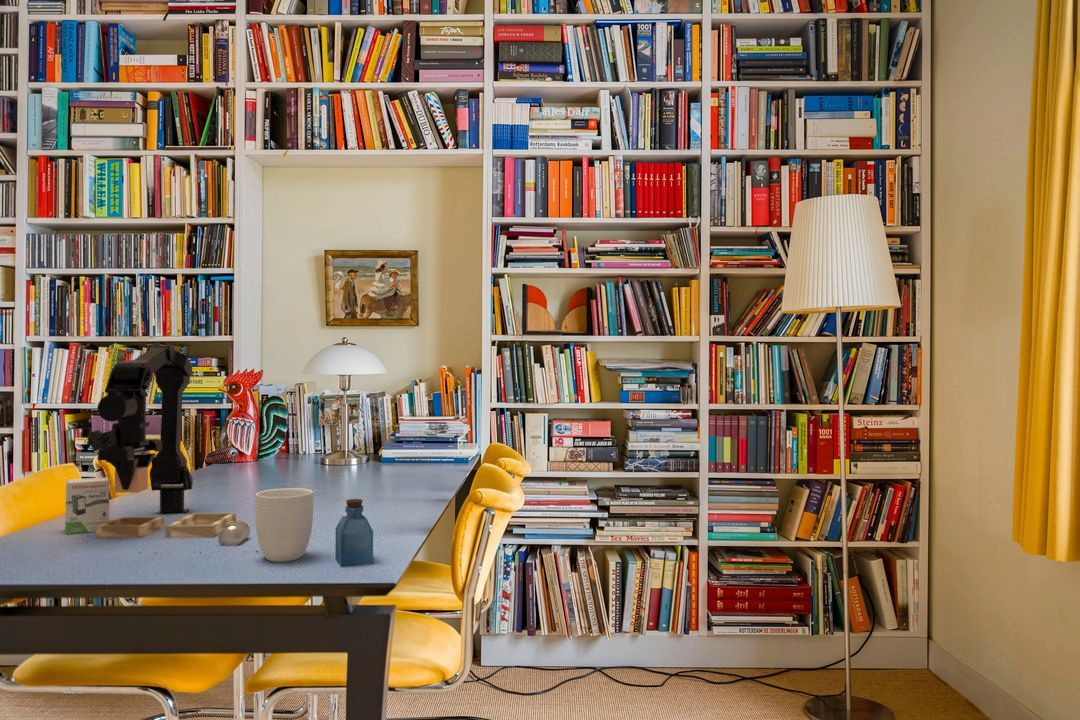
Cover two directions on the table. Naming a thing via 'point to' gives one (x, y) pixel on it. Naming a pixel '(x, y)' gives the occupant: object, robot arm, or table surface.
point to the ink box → (86, 504)
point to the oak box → (129, 527)
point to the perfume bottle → (354, 537)
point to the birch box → (200, 525)
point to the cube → (134, 481)
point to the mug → (284, 522)
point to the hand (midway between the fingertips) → (131, 487)
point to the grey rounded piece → (234, 534)
